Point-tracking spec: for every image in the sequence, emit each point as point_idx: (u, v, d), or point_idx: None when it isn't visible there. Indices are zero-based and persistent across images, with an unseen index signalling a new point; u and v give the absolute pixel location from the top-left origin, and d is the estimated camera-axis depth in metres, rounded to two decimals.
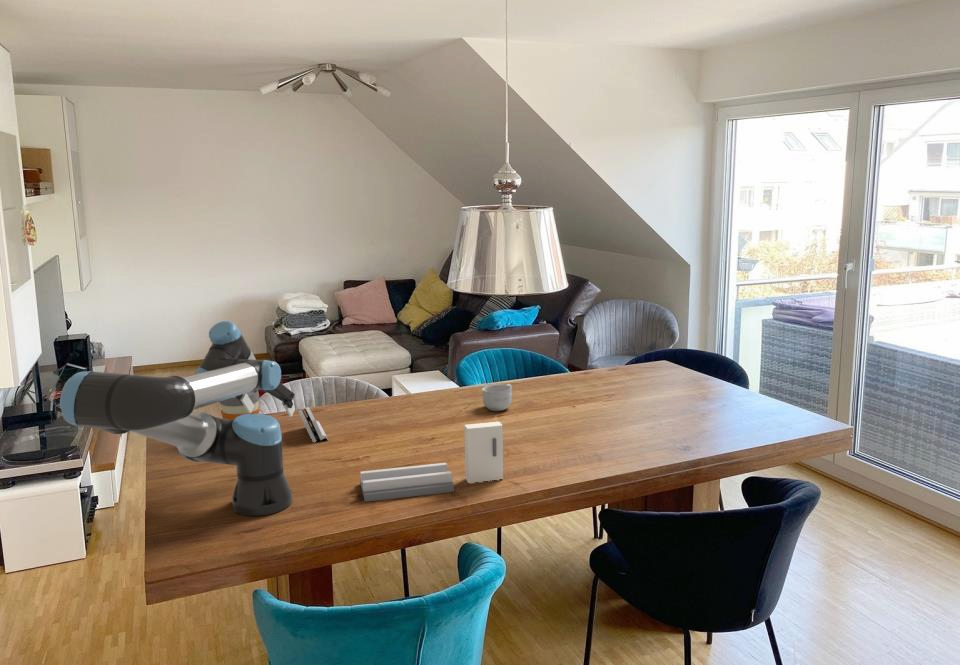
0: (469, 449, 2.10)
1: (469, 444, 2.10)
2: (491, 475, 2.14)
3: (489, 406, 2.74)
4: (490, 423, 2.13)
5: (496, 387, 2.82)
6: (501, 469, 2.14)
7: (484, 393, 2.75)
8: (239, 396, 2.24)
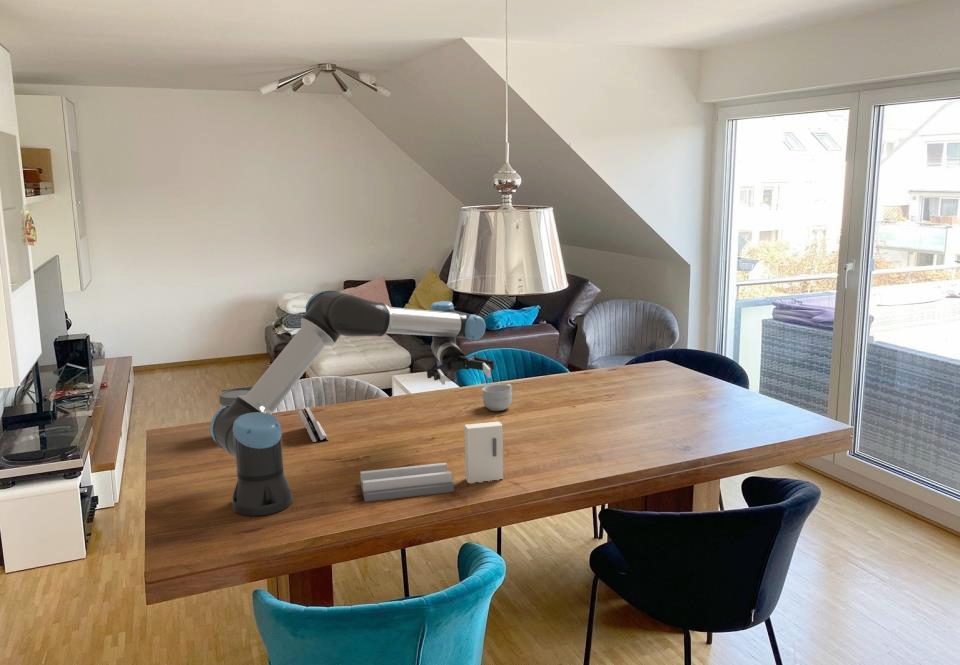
0: (469, 449, 2.11)
1: (469, 444, 2.10)
2: (491, 475, 2.14)
3: (489, 406, 2.74)
4: (490, 423, 2.13)
5: (496, 387, 2.82)
6: (501, 469, 2.14)
7: (484, 393, 2.75)
8: (437, 368, 2.25)
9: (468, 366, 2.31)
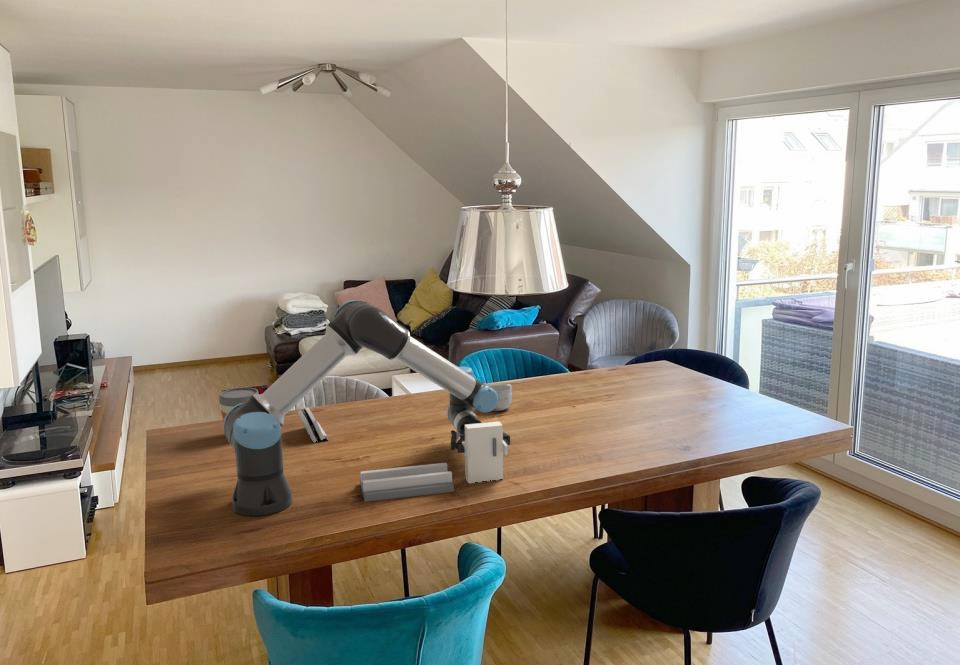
0: None
1: (469, 444, 2.10)
2: (491, 475, 2.14)
3: None
4: (490, 423, 2.13)
5: (496, 387, 2.82)
6: (501, 469, 2.14)
7: None
8: (461, 440, 2.15)
9: None
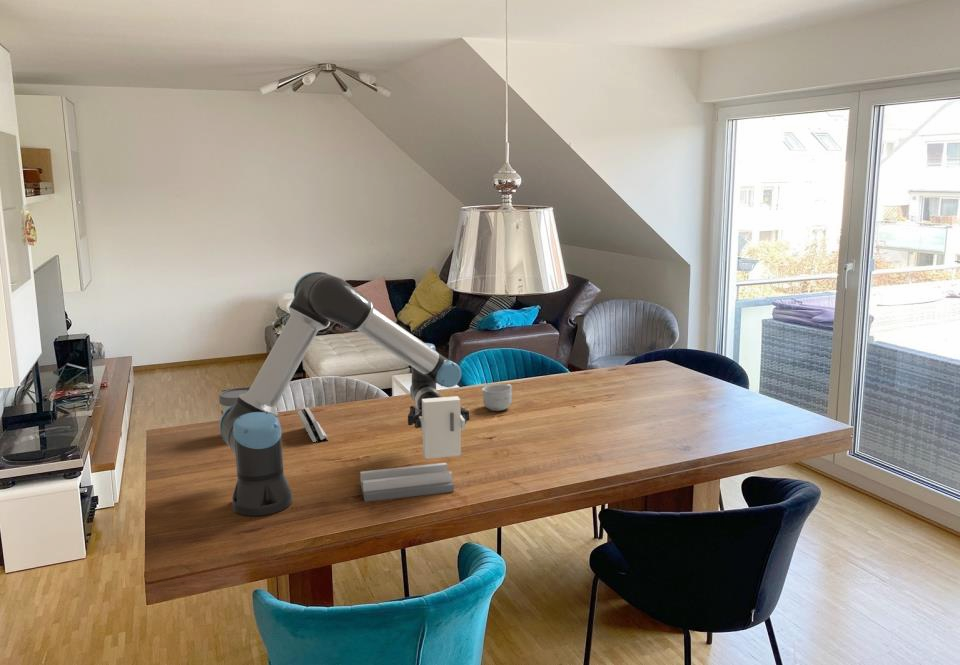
0: (426, 423, 2.07)
1: (426, 418, 2.06)
2: (449, 451, 2.10)
3: (489, 406, 2.74)
4: (448, 398, 2.09)
5: (496, 387, 2.82)
6: (459, 444, 2.10)
7: (484, 393, 2.75)
8: (418, 415, 2.12)
9: None
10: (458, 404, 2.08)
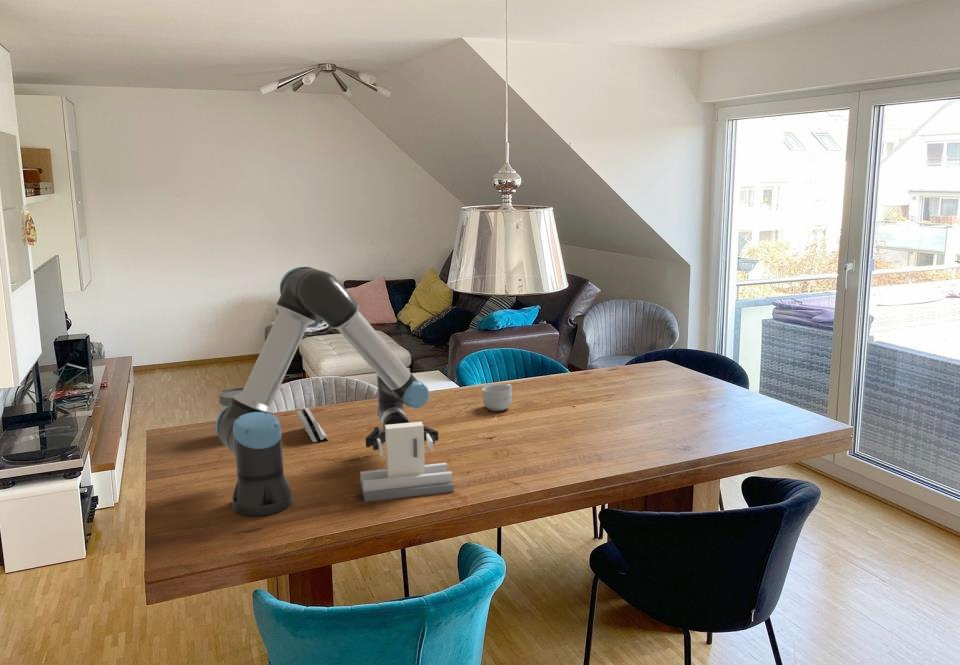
0: (389, 450, 2.05)
1: (389, 445, 2.05)
2: None
3: (489, 406, 2.74)
4: (411, 424, 2.07)
5: (496, 387, 2.82)
6: (423, 470, 2.09)
7: (484, 393, 2.75)
8: (377, 437, 2.10)
9: None
10: (421, 430, 2.06)
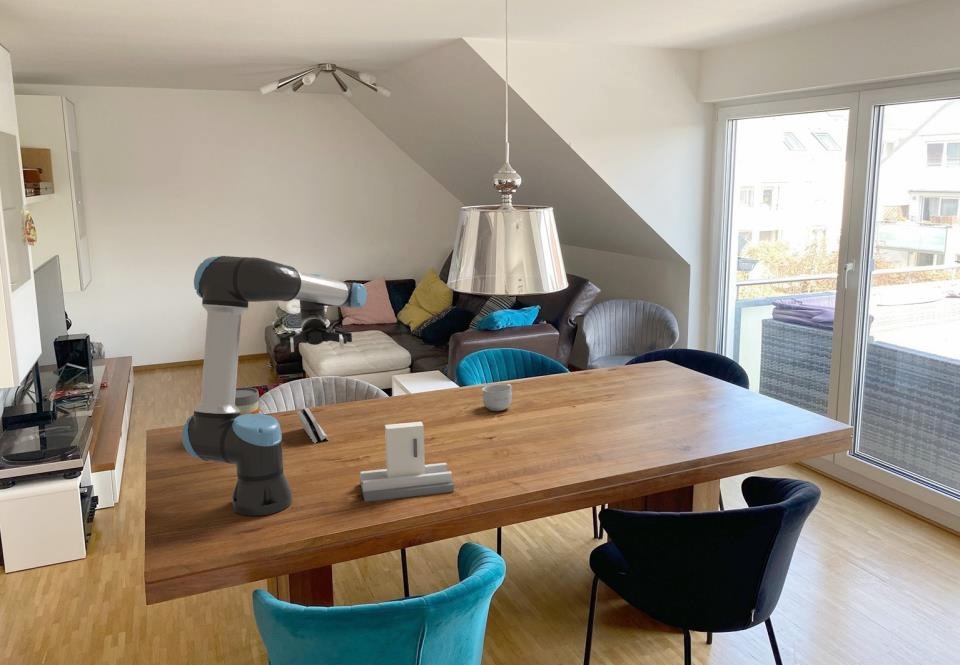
0: (389, 450, 2.05)
1: (389, 445, 2.05)
2: None
3: (489, 406, 2.74)
4: (411, 424, 2.07)
5: (496, 387, 2.82)
6: (423, 470, 2.09)
7: (484, 393, 2.75)
8: (291, 336, 2.18)
9: (327, 338, 2.24)
10: (421, 430, 2.06)
